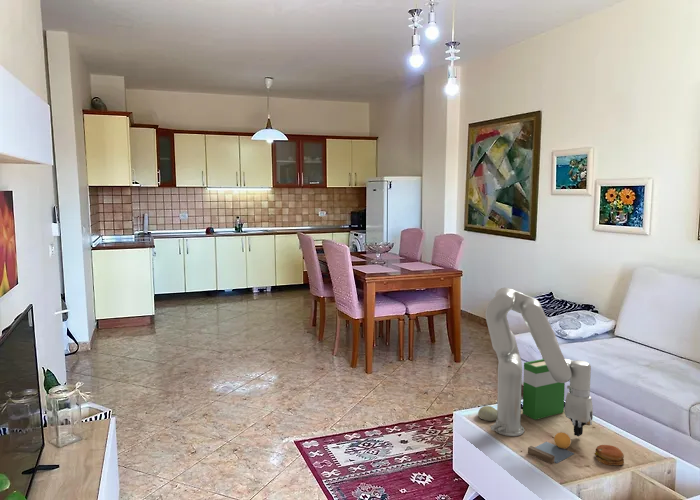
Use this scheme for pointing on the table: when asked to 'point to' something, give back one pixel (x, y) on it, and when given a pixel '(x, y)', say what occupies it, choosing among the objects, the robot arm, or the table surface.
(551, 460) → the stopper wall
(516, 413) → the robot arm
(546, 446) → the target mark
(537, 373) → the hardback book
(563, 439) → the ball
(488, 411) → the sea urchin shell
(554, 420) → the table surface
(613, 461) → the burger
